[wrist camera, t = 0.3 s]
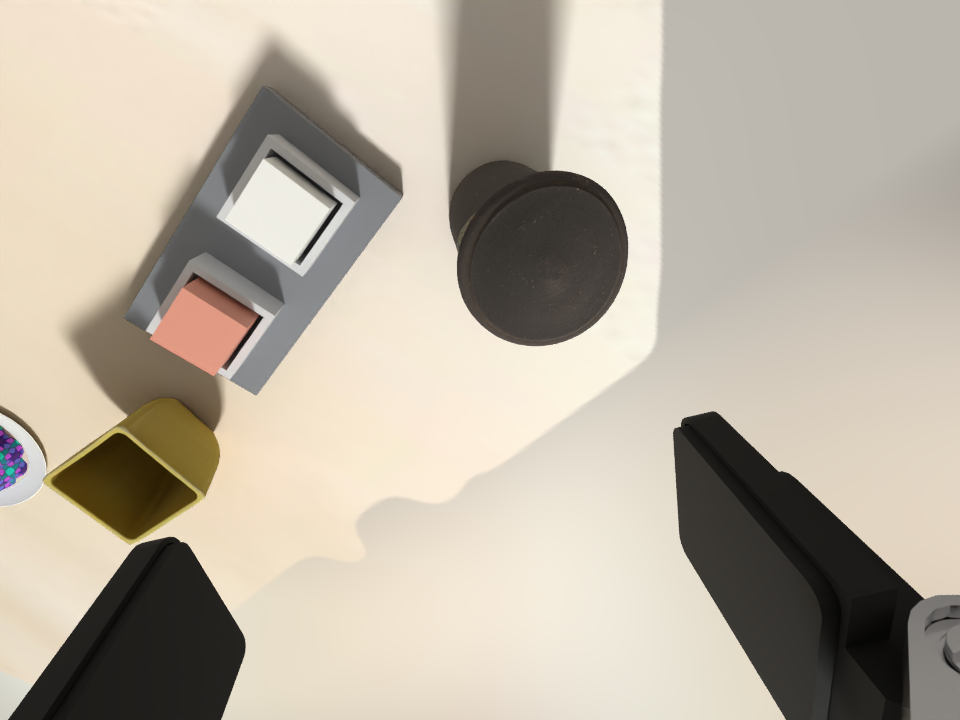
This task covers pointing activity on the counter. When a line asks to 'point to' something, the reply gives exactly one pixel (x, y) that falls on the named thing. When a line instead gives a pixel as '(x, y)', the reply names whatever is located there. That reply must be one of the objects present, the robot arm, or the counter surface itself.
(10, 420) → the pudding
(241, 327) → the brick key
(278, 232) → the white key
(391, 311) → the counter surface
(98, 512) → the flower pot
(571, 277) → the container
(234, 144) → the push button panel
